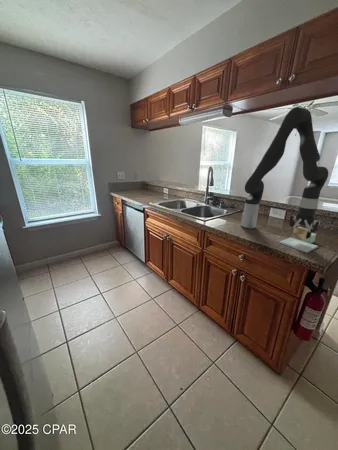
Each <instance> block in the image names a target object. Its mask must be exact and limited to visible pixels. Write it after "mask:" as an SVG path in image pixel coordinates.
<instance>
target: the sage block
mask: <svg viewBox="0 0 338 450" xmlns="http://www.w3.org/2000/svg"><path fill="white" fill-rule="evenodd" d="M316 236H317V233H315V232H312V234H311V237H310V238H308V239H306V240H301V239H300V240H301V241H304V242H307V243H310V244H313V243H315V241H316Z"/></svg>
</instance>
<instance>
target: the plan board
mask: <svg viewBox="0 0 338 450" xmlns="http://www.w3.org/2000/svg"><path fill="white" fill-rule="evenodd" d="M279 244H281V245H285V246H287V247H290V248H293V249H295V250H298V251H301V252H304V253H309V252H311V251H313V250H315V249H318V247H319V245H316V244H313V243H311V244H310V243H307V242H304V241H301V239H297V238H294V237H292V236H290V237H288V238H285V239H283V240H280V241H279Z"/></svg>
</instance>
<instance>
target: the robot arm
mask: <svg viewBox="0 0 338 450" xmlns="http://www.w3.org/2000/svg"><path fill="white" fill-rule="evenodd" d="M295 129H296V131H297V133H298V135H299V154H300V157H301V161H302V175H303V178H304V180H305V181H307V182H310V183H309V185H306V186H305V187H304V189H303V191H302V194H301V195H302V196H301V199H300V201H299V206H298V210H297V215H290V217H289V226H290V227H291V228H292V232H291V233H292V234H293V229H294V228H296V227H300V226H302V225H303V226H305V228H307V230H308V232H307V236H306V239H308V238H310V237H311V234H312V233H316V232H317V231H318V229H319V228H320V225H321V223H322V222H321V221H320V220H316V219H315V217H316V213H317V209H318V206H319V198H320V195H321V191H322V189H323V188H324V186H325V184H326V182H327V180H328V177H329V169H328V168H327V167H325V166H318V162H319V161H320V159H321V155H320V152H319V148H318V146H317V142H316V140H315V134H314V129H313V118H312V113H311V110H309V109H307V108H303V107H300V106H295V107H293V108H291V109H290V110H289V111H288V112H287V113H286V114H285V116H284V118H283V120H282V122H281V124H280V126H279V129H278V130H277V132H276V134H275V136H274V138H273V139H272V141H271V142H270V145H269V147H268V148H267V149H266V151H265V153H264V155H263V156H262V158H261V160H260V162H259V163H258V165H257V167H256V168H255V170H254V171H253V172H252V174H251V176H249V178H248V180H247V181H246V183H245V185H244V191H245V192H246V194H249V196H247V197H246V198H245V201H244V207H243V212H242V213H241V221H240V226H241V227H243V228H246V229H255V228H256V226H257V222H258V221H257V220H258V215H259V208H260V203H261V201H262V198H263V194H264V190H265V183H264V181H263V180H262V179H264V177H265V176H266V175H268V173H270V172H271V171H272V170H273V169H274V168H275V167H276V166H277V165H278V164H279V162H280V160H281V159H282V157H283V156H284V154H285V152H286V151H285V150H286V145H287V140H288V139H289V136H290V135H291V133H292V132H293V131H294V130H295ZM295 220H296V222H295ZM312 224H313V225H312Z"/></svg>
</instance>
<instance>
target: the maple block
mask: <svg viewBox="0 0 338 450" xmlns="http://www.w3.org/2000/svg"><path fill="white" fill-rule="evenodd" d="M292 231H293V233H292V234H291V238H295V239H298V240H306V236H307V232H308V230H307V228H306V227H302V226H298V227H296V228H294V229H293V228H292Z"/></svg>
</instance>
